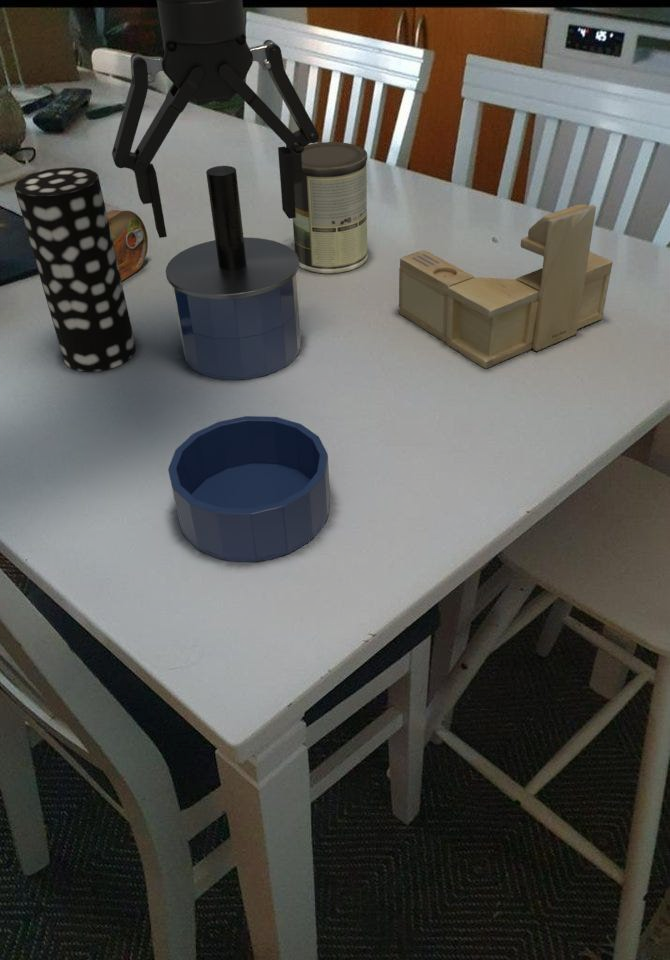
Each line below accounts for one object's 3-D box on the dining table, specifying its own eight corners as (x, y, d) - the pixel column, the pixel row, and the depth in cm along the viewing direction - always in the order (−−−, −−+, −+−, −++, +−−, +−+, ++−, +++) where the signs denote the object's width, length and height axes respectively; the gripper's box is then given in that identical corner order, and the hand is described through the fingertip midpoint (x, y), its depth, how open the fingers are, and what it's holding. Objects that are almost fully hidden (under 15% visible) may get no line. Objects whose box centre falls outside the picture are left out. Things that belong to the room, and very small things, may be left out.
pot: (195, 389, 88) (181, 306, 82) (176, 332, 98) (162, 254, 92) (313, 366, 91) (308, 284, 84) (283, 313, 101) (277, 236, 94)
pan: (192, 578, 66) (182, 529, 63) (169, 479, 76) (159, 433, 73) (348, 540, 69) (347, 491, 65) (306, 450, 79) (302, 404, 75)
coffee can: (280, 265, 112) (271, 160, 103) (319, 237, 118) (314, 137, 109) (344, 280, 107) (341, 172, 98) (381, 251, 114) (381, 147, 105)
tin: (83, 307, 104) (66, 244, 98) (64, 303, 105) (47, 240, 100) (154, 261, 114) (143, 202, 109) (136, 257, 115) (124, 198, 110)
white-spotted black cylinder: (114, 328, 99) (75, 161, 87) (149, 353, 94) (112, 180, 81) (51, 352, 95) (1, 181, 83) (83, 380, 90) (35, 202, 77)
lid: (178, 314, 81) (159, 205, 74) (158, 258, 92) (140, 158, 85) (315, 290, 84) (309, 184, 77) (281, 238, 95) (273, 140, 88)
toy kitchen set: (509, 273, 107) (522, 156, 97) (607, 322, 96) (632, 195, 86) (397, 314, 100) (398, 191, 90) (488, 372, 89) (502, 239, 79)
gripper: (54, 7, 66) (108, 255, 79) (346, -18, 71) (350, 218, 84) (51, -7, 71) (102, 227, 85) (321, -29, 77) (329, 194, 90)
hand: (226, 223), depth 85 cm, fingers open, 13 cm apart
